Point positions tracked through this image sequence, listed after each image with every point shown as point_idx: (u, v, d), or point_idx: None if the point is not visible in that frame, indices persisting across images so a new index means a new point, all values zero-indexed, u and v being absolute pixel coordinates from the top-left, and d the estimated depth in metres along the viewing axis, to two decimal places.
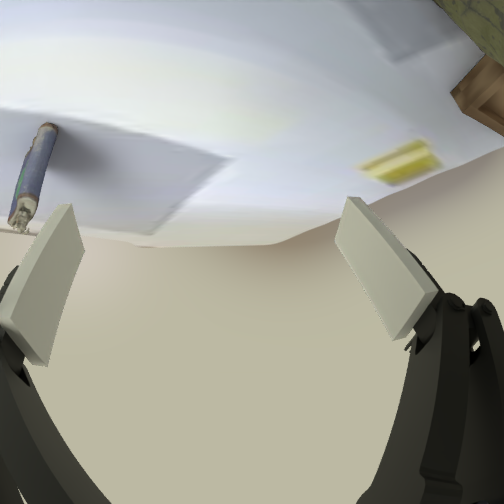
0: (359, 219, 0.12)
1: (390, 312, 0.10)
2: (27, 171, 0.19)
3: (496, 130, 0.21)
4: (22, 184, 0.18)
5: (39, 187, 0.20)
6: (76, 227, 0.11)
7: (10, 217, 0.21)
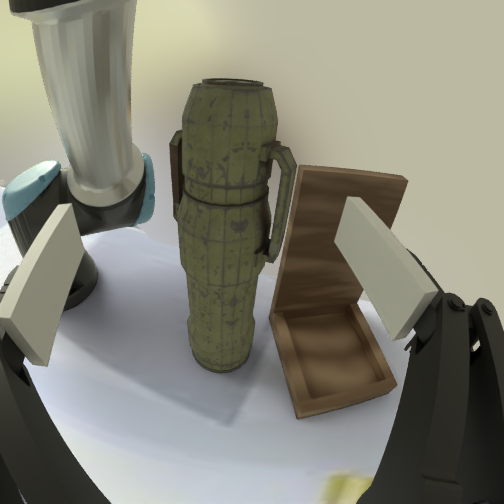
0: (359, 219, 0.12)
1: (390, 312, 0.10)
2: None
3: (358, 396, 0.32)
4: None
5: None
6: (76, 227, 0.11)
7: None
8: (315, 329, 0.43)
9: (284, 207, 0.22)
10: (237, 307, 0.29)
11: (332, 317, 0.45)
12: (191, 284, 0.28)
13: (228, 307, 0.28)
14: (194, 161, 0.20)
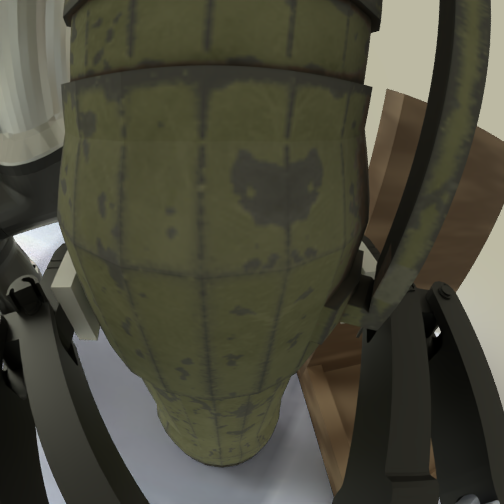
0: None
1: None
2: None
3: None
4: None
5: None
6: None
7: None
8: None
9: (475, 117, 0.03)
10: (253, 413, 0.11)
11: None
12: None
13: (231, 418, 0.10)
14: None
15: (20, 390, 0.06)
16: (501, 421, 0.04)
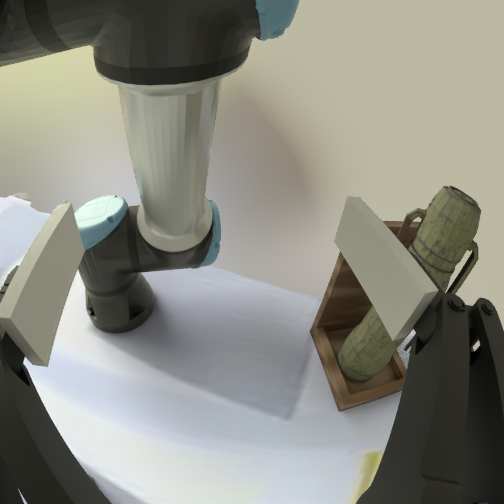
0: (359, 219, 0.12)
1: (390, 312, 0.10)
2: None
3: (384, 391, 0.40)
4: None
5: None
6: (76, 227, 0.11)
7: None
8: None
9: (466, 276, 0.29)
10: None
11: None
12: None
13: None
14: (441, 243, 0.28)
15: None
16: None
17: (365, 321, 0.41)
